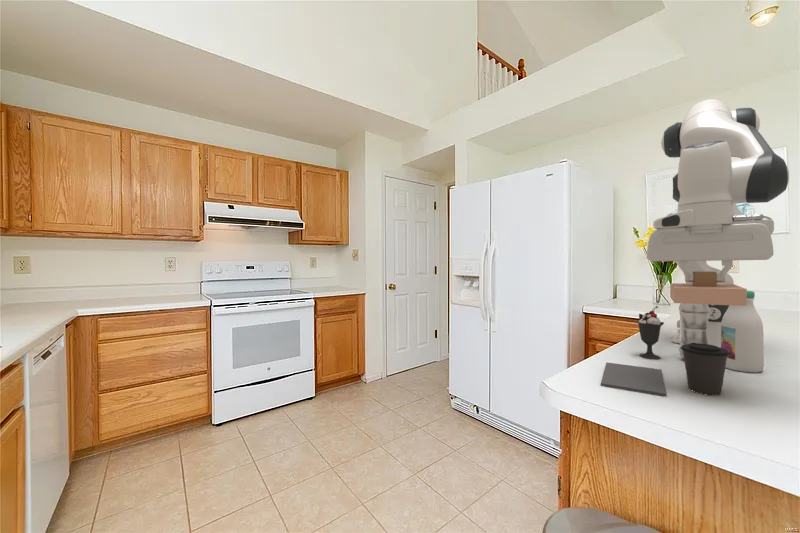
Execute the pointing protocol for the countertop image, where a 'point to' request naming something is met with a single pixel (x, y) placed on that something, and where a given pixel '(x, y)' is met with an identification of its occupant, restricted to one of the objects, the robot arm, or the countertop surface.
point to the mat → (634, 379)
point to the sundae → (649, 332)
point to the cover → (708, 291)
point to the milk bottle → (743, 337)
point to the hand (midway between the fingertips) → (704, 282)
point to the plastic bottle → (693, 324)
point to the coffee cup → (705, 367)
